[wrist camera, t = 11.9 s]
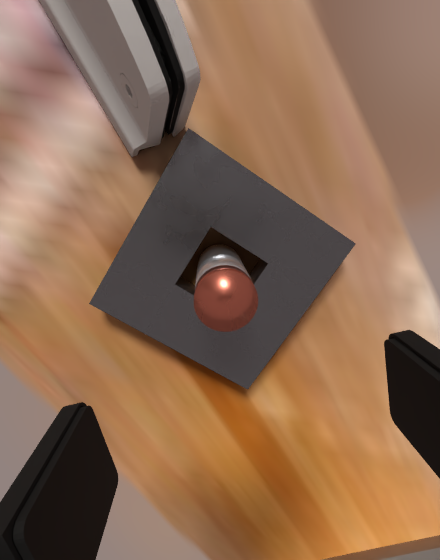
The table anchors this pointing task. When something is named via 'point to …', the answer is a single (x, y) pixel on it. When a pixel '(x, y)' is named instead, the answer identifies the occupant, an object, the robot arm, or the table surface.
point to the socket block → (239, 228)
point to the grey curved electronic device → (132, 63)
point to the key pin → (223, 290)
